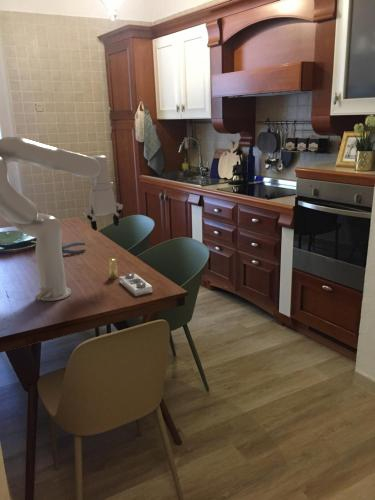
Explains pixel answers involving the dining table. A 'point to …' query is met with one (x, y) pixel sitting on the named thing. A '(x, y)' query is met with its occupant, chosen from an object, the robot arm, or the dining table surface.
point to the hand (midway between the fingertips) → (105, 227)
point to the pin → (113, 268)
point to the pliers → (72, 250)
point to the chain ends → (135, 284)
